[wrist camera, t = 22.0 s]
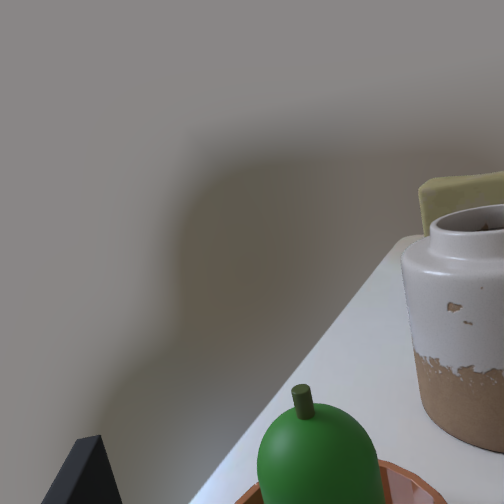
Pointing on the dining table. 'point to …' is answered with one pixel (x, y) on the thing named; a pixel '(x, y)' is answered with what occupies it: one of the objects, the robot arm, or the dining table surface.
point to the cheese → (458, 195)
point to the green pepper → (318, 457)
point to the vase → (460, 323)
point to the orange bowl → (394, 485)
